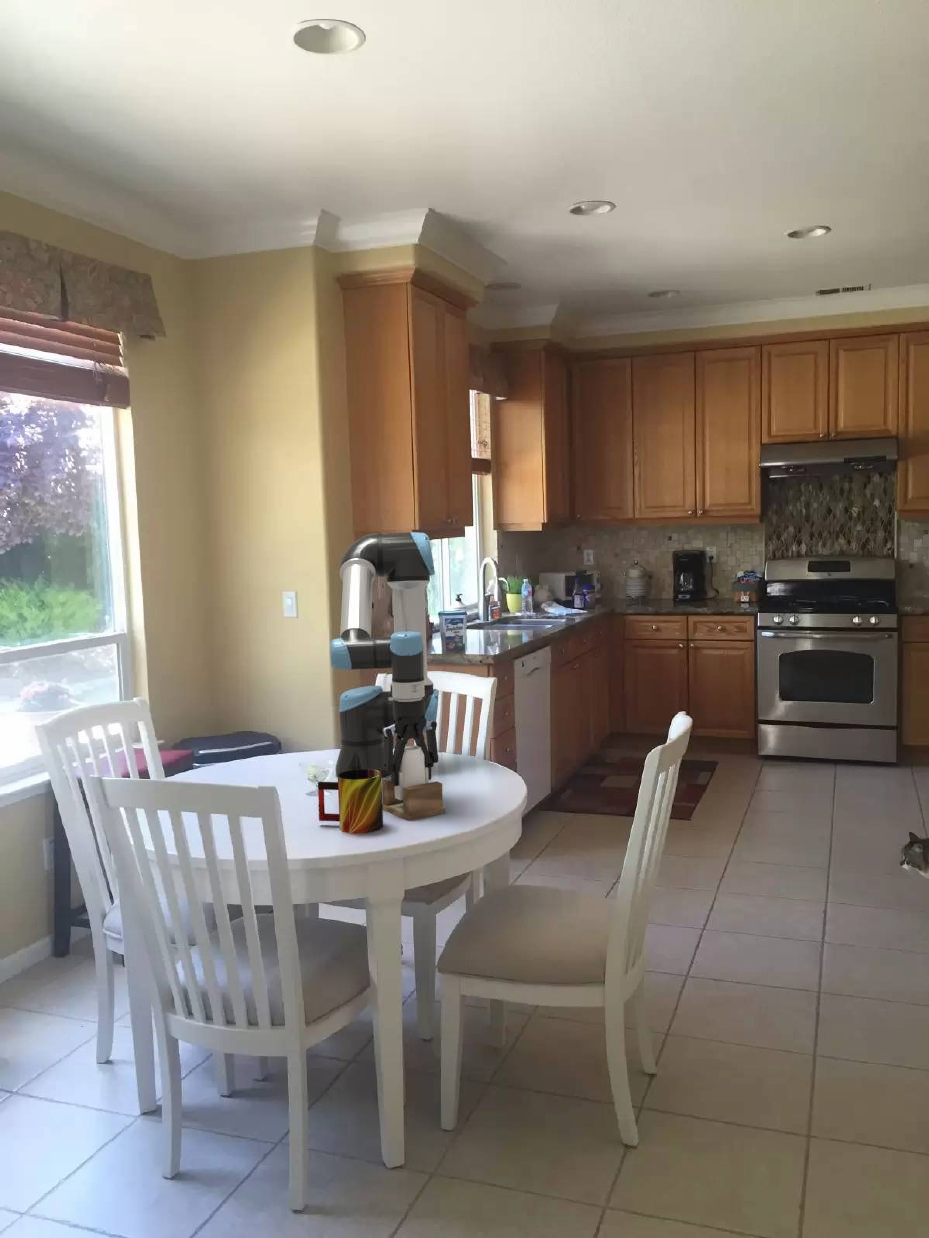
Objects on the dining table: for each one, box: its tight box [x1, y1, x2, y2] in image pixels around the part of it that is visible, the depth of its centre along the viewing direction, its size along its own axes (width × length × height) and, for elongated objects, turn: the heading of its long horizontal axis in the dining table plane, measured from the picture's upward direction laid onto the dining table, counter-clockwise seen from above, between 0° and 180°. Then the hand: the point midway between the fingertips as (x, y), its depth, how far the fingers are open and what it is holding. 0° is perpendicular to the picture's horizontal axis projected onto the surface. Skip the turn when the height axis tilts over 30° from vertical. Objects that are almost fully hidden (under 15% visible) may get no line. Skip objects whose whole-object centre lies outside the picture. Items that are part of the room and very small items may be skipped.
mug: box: [317, 769, 384, 835], centre depth 226 cm, size 10×14×12 cm
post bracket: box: [381, 777, 446, 821], centre depth 239 cm, size 13×10×7 cm
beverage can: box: [399, 744, 425, 787], centre depth 238 cm, size 6×6×12 cm
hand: (412, 796), depth 239 cm, fingers closed on beverage can, 6 cm apart
